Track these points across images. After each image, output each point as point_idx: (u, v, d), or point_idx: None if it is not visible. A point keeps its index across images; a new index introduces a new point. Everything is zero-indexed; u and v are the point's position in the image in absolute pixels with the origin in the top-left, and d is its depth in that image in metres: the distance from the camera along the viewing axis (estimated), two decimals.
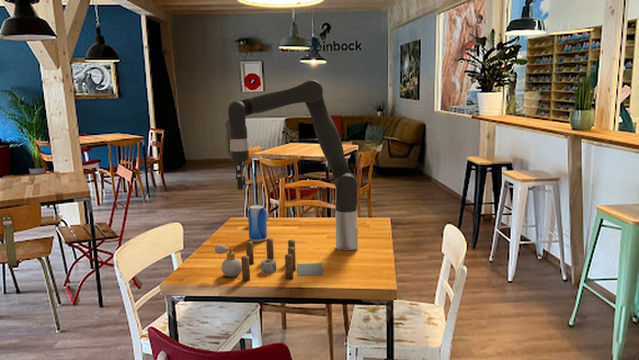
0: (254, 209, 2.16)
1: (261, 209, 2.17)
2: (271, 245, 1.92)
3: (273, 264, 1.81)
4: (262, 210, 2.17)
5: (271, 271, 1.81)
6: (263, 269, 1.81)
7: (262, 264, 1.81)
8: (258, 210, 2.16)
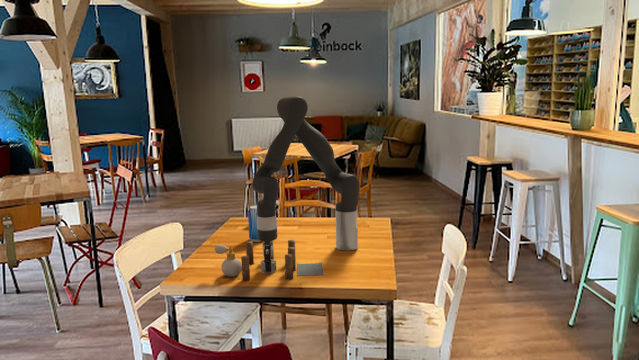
0: (254, 209, 2.16)
1: None
2: None
3: (273, 264, 1.81)
4: None
5: (271, 271, 1.80)
6: (263, 269, 1.81)
7: (262, 264, 1.81)
8: None
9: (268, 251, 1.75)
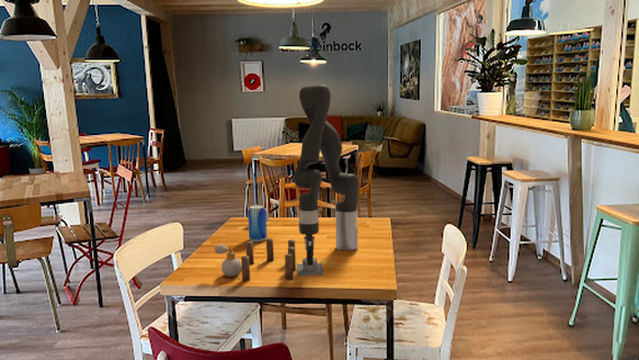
0: (254, 209, 2.16)
1: (261, 209, 2.17)
2: (271, 245, 1.92)
3: (315, 261, 1.82)
4: (262, 210, 2.17)
5: (313, 269, 1.81)
6: (305, 267, 1.82)
7: (303, 262, 1.82)
8: (258, 210, 2.16)
9: (311, 242, 1.75)
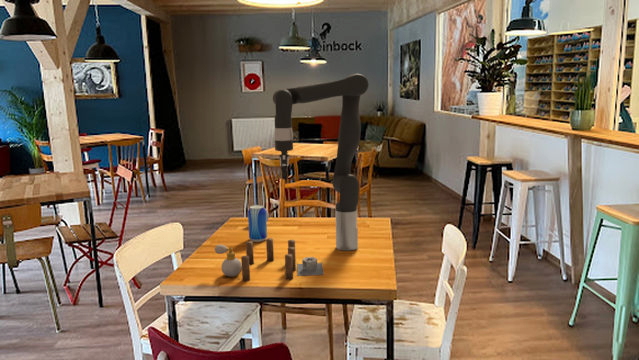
0: (254, 209, 2.16)
1: (261, 209, 2.17)
2: (271, 245, 1.92)
3: (315, 261, 1.82)
4: (262, 210, 2.17)
5: (313, 269, 1.81)
6: (305, 267, 1.82)
7: (303, 262, 1.82)
8: (258, 210, 2.16)
9: (285, 156, 1.88)
